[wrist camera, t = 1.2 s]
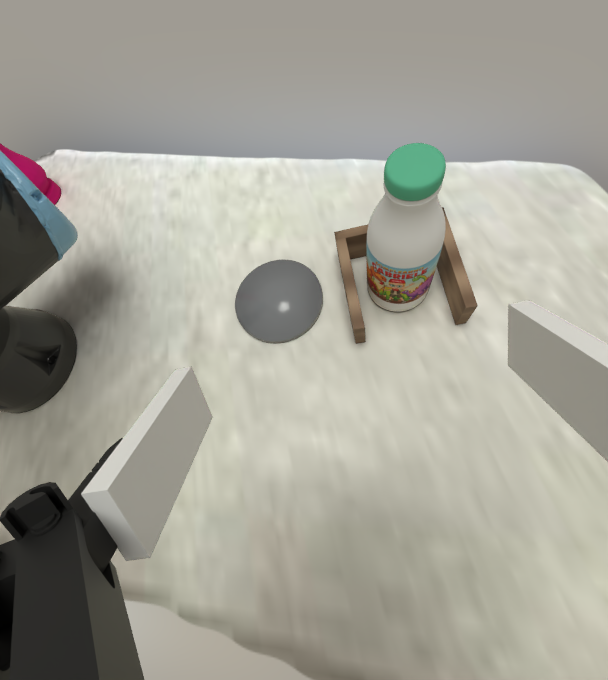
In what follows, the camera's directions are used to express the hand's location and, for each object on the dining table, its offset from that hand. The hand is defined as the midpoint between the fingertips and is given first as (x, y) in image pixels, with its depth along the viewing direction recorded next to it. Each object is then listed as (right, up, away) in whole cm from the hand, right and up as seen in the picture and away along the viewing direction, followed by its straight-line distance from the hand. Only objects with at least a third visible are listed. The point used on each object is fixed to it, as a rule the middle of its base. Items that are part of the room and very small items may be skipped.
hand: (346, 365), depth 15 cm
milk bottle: (+10, +8, +31) cm, 33 cm away
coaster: (-5, +6, +33) cm, 34 cm away
